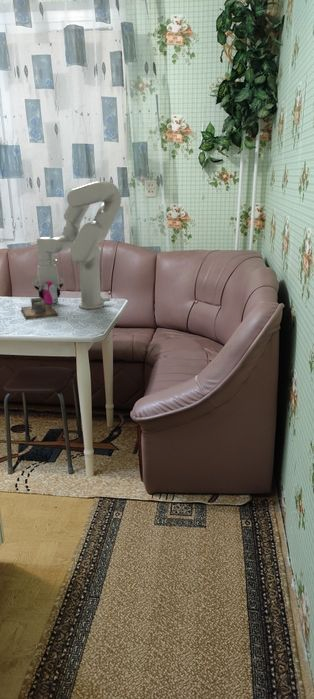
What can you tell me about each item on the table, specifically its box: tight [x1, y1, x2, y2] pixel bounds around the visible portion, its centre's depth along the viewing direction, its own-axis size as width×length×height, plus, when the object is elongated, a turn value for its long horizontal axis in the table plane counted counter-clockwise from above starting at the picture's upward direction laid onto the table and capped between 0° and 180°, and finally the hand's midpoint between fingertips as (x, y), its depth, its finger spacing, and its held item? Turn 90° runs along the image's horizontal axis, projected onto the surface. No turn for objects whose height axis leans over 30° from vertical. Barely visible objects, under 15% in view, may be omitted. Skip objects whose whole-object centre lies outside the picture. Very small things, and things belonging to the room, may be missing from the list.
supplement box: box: [41, 282, 59, 306], centre depth 256 cm, size 6×6×12 cm
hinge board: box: [21, 297, 59, 320], centre depth 239 cm, size 14×18×6 cm
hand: (49, 297), depth 257 cm, fingers closed on supplement box, 7 cm apart
